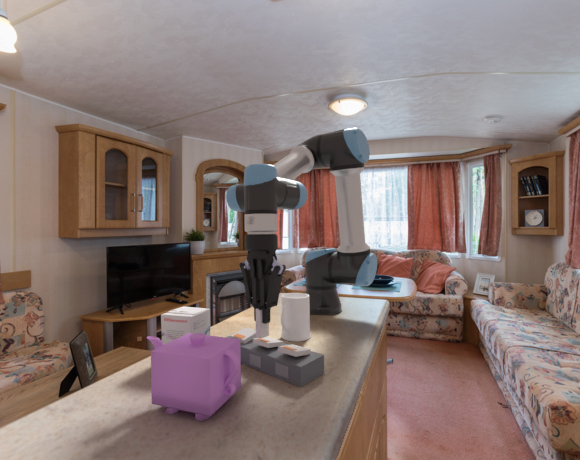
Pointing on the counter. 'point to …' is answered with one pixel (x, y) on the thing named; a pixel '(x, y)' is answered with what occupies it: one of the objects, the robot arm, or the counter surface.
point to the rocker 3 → (294, 350)
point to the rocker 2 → (267, 342)
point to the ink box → (184, 322)
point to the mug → (295, 317)
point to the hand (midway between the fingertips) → (262, 336)
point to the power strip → (282, 363)
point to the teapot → (195, 373)
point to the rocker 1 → (244, 335)
